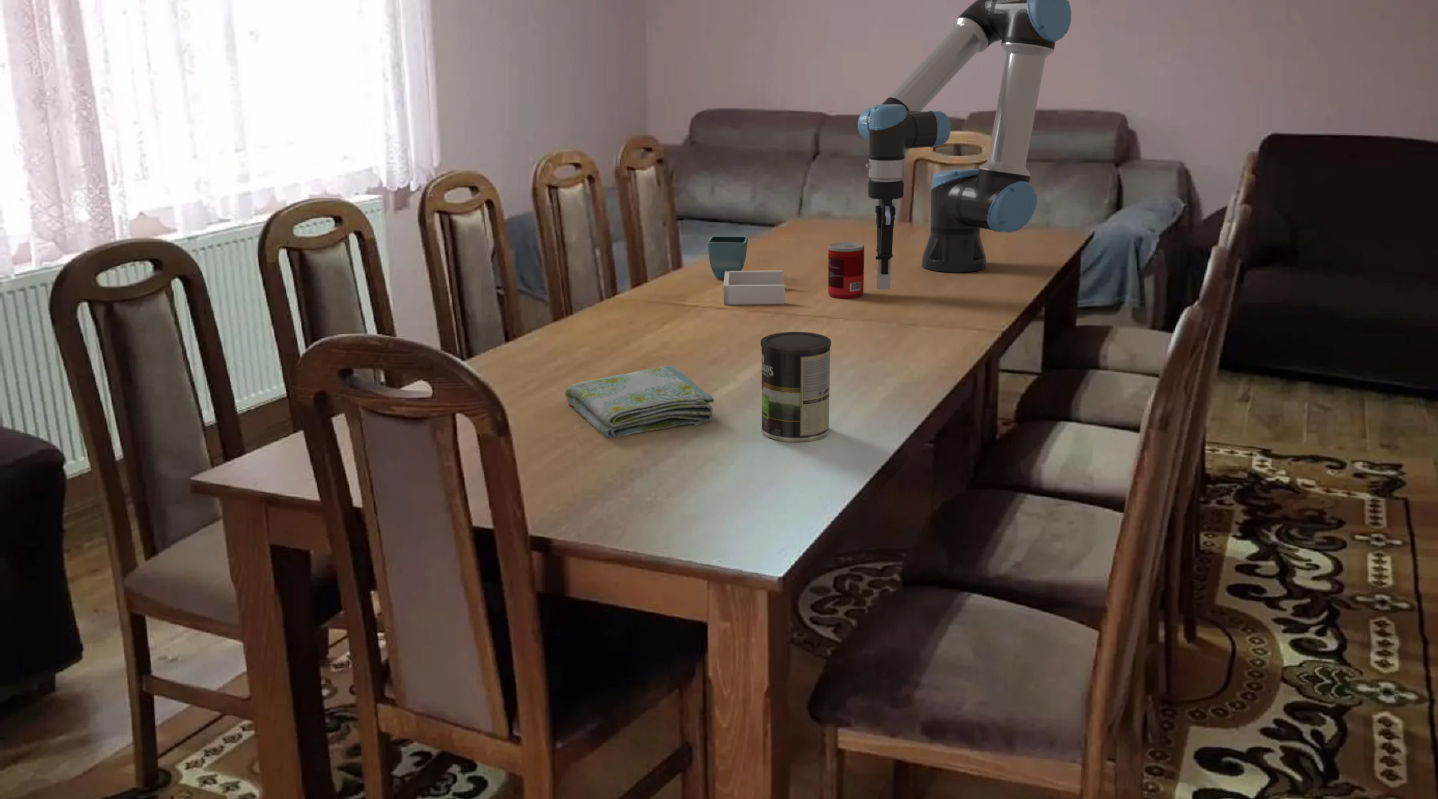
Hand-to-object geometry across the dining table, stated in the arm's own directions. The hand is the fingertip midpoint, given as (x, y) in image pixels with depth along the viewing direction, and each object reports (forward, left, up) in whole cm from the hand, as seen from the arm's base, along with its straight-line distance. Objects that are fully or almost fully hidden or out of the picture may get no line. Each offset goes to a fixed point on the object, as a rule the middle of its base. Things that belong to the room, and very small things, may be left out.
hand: (883, 288), depth 278 cm
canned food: (+8, 0, -2) cm, 8 cm away
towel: (+46, +83, -2) cm, 95 cm away
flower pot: (+34, -21, -2) cm, 40 cm away
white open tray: (+28, 0, -2) cm, 28 cm away
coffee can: (+22, +93, -2) cm, 96 cm away
